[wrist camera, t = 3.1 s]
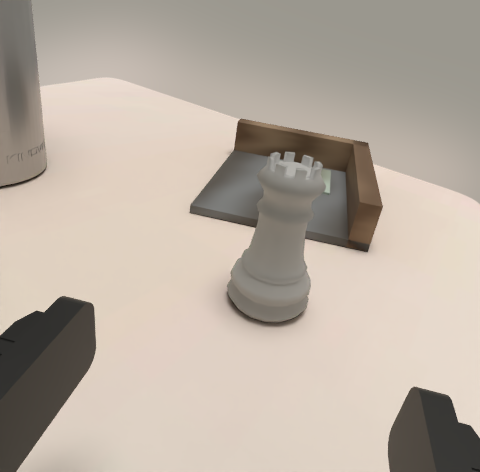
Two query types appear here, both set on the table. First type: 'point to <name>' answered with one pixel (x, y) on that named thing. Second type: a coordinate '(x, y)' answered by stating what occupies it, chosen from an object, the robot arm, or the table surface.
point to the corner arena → (322, 150)
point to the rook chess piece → (278, 242)
